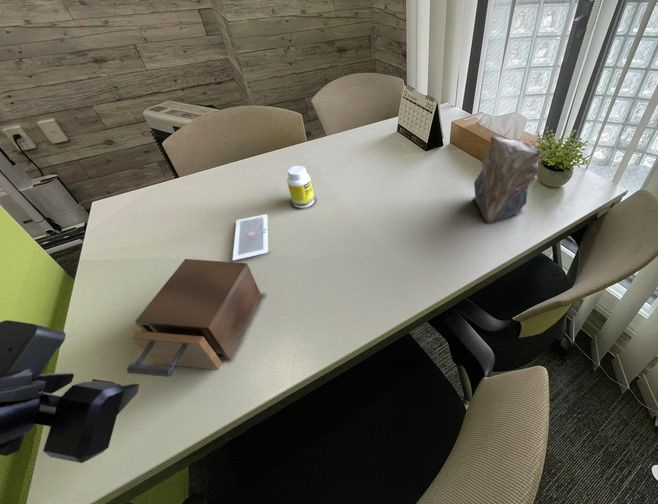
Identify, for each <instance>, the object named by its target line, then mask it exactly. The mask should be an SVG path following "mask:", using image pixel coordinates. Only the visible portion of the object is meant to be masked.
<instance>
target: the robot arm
mask: <svg viewBox="0 0 658 504" xmlns="http://www.w3.org/2000/svg"><path fill="white" fill-rule="evenodd" d="M66 336H67V335H66V333H65V331H63V330H60V329H55V328H51V327H47V326H45V325H44V326H43V325H41V324H40V325H39V324H35V323H30V322H23V321H16V320H10V319H9V320H8V319H7V320H6V319H4V320H1V321H0V456H3V457H7V456H10V455H12V454H14V453H18V452H19V451H20V450H21V448H22V447H21V446H22V443H23V441H24V438H25V435H28V434H29V433H30V432H31V431H32V429H33V428H34V426H35V425H40V426H44V427H50V428H49V431H48V433H47V437H46V439H45V443H44V446H43V450H42V452H43V453H45V454H46V455H47V456H48V457H50V458H53V459H58V460H63V461H68V462H74V463H80V464H83V463H85V462H88V461H89V460H91V459H94V458H96V457H97V456H99V455H100V454H102V453H104V452H105V451H106V450H107V449H108V448H109V446H110V443H111V441H112V436H113V433H114V429H115V425H116V421H117V417H118V415H119V414H120V413H121V412H122V411H123V410H124V409H125V407H127V406H128V404H129V403H130V402H131V401H132V400H133V399H134V397H136V395H137V394H138V393H139V389H140V386H141V385H140V383H134V384H133V383H132V384H125V385H122V384H121V383H116V382H114V381H109V380H103V379H96V378H93V379H91V381H90V380H89V381H88V380H87V381H82V382H78V383H75V384H72V385H71V386H70V387H69V388H68V389H67V390H66V391H65V392H64V393H63V394H56V393H57V392H58V391H60V390H61V389H63V388H65V387H67V386H68V385H70V384H71V383H72V382H73V379H74V376H75V374H74V373H73V372H66V373H65V372H63V373H43V371H44V369H45V368H46V366H47V365H48V363H49V362H50V360H51V359H52V357H53V356H54V355H55V352H56V351H57V349H59V348H60V347H61V346H62V345H63V344H64V342H65V340H66Z"/></svg>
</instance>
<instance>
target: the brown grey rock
mask: <svg viewBox="0 0 658 504" xmlns="http://www.w3.org/2000/svg"><path fill="white" fill-rule="evenodd" d="M542 152H543V150H542V149H539V148H536V147H534V146H533V145H531V144H530V143H529V142H528V141H526V140H523V139H519V140H516V139H511V138H510V139H506V138H503V137H501V136H495V135H494V136H493V135H492V136H491V137H490V144H489V146H488V147H487V148H486V149H485V150H484V152H483V154H482V160H481V168H482V170H480V172H479V174H478V175H477V177H476V178H475V180H474V182H473V185H474V202H475V204H476V205H477V208H478V209H479V211H480V213H481V216H482V218H483V219H484V221H485V222H486V224H491V223H495V222H497V221H501V220H502V219H507V218H510V217H511V216H517V215H519V214H520V212H521V210H522V208H524V206H525V205H526V204H527V202H528V194H529V188H530V186H531V184H532V183H533V181H535V180H536V175H537V174H538V171H539V159H540V157H541V154H542Z"/></svg>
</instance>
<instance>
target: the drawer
mask: <svg viewBox="0 0 658 504" xmlns="http://www.w3.org/2000/svg"><path fill="white" fill-rule="evenodd" d="M148 326H149V327H150V328H151V329H152V331H153V332H144V331H143V330H142V331H141V330H135V331H134V333H133V335H132V336H131V339H132V341H134V342H135V343H136V344H137V345H138V346H139V348H141V350H143V351H142V352H141V353H140V355H139V356H138V357H137V359H136V360H135V361H134V362H132V363H130V364H129V365H128V367H127V368H126V373H127V374H131V375H142V376H152V377H162V378H171V377H172V376H173V375H174V374H175V371H176V369H175V367H176V366H177V367H188V368H198V369H208V370H220V368H221V366H222V364H223V362H222V361H221V360H222V359H219V358H218V356H217V355H216V354H222V353H221V351H220V350H219V348H218V347H217V346H216V344H215V343H214V341H213V340H212V338H211V337H210V335H209V334H208V333H207V331H206V330H199V329H187V328H175V327H164V326H152V325H148ZM147 356H149V357H150V359H152V360H153V362H155V364H148V363H143V361H144V360H145V358H146V357H147Z"/></svg>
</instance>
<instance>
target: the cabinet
mask: <svg viewBox="0 0 658 504" xmlns="http://www.w3.org/2000/svg"><path fill="white" fill-rule="evenodd" d="M262 298H263V296H262V294H261V291H260V288H259V287H258V285H257V282H256V280H255V278H254V275H253V273H252V271H251V269H250V266H249V265H248V263H247V262H236V261H223V260H206V259H193V258H184V260H183V261H182V262H181V263H180V264H179V266H178V267H177V268H176V270H175V271H174V272H173V273H172V275H171V276H170V277H169V278H168V279H167V280H166V282H165V283H164V284H163V286H162V287H161V288H160V290H159V291H158V292H157V293H156V295H155V296H154V297H152V299H151V301H150V302H149V303H148V305H147V306H146V307H145V308H144V310H143V311H142V312H141V313H140V314H139V316H138V317H137V318H136V319H135V321H134V323H135V324H136V325H137V326H138V327H139V328H140V329H141V330H142V331H144V332H153V331H152V329H151V328H150V327H149V326H148V325H152V326H164V327H175V328H187V329H199V330H206V331H207V333H208V334H209V335H210V337H211V338H212V340H213V341H214V343H215V344H216V346H217V347H218V348H219V350H220V351H221V353H222V354H216V355H217V356H218V358H219V359H220V360H227V361H228V360H229V361H230V360H231V359H232V357H233V355H234V353H235V351H236V350H237V347H238V345H239V343H240V341H241V339H242V337H243V335H244V333H245V331H246V329H247V327H248V325H249V323H250V321H251V319H252V317H253V316H254V313H255V311H256V309H257V307H258V306H259V303H260V301H261V300H262Z"/></svg>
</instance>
